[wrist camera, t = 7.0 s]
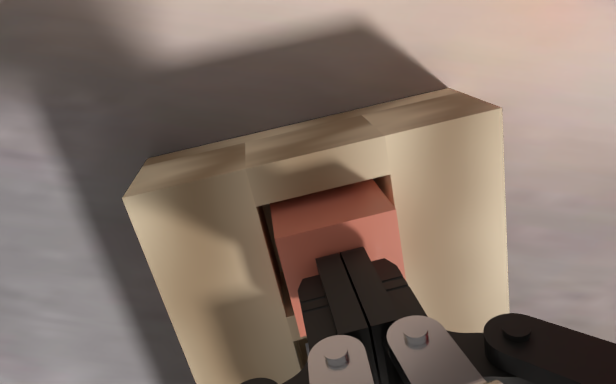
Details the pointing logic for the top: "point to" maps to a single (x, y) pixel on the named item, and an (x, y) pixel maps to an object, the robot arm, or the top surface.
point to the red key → (333, 231)
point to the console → (309, 179)
